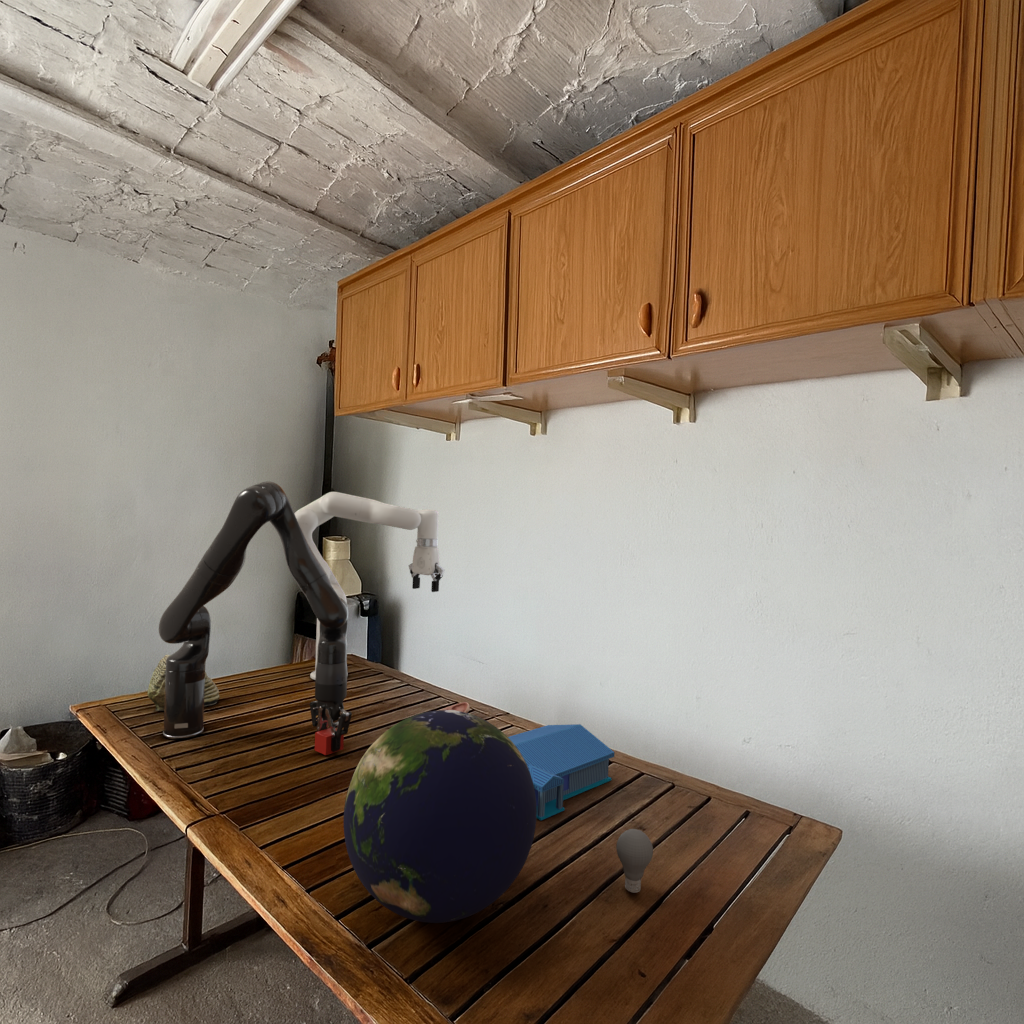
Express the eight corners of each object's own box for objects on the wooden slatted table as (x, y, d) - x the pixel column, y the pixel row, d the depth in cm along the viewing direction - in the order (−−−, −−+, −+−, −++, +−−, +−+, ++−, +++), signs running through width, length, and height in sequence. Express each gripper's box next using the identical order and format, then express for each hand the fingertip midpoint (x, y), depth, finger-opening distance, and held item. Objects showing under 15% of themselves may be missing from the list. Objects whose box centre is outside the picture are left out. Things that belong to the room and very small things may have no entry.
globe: (296, 934, 92) (304, 728, 91) (406, 836, 119) (412, 678, 119) (484, 1004, 80) (494, 770, 80) (557, 878, 108) (565, 703, 108)
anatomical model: (417, 708, 179) (430, 696, 190) (416, 722, 179) (430, 710, 191) (462, 714, 177) (473, 701, 188) (461, 728, 177) (472, 715, 188)
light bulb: (610, 879, 108) (613, 822, 108) (644, 879, 109) (647, 822, 109) (619, 902, 102) (622, 840, 102) (655, 901, 103) (658, 840, 103)
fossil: (144, 707, 182) (145, 655, 182) (212, 696, 194) (213, 647, 194) (151, 716, 175) (153, 662, 175) (221, 703, 188) (223, 653, 188)
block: (314, 750, 155) (315, 732, 155) (332, 744, 159) (332, 726, 159) (325, 755, 153) (326, 737, 152) (343, 749, 157) (344, 731, 157)
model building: (493, 841, 119) (496, 788, 119) (420, 792, 137) (422, 747, 137) (623, 784, 145) (625, 741, 145) (547, 750, 164) (548, 712, 163)
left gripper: (300, 676, 157) (298, 744, 157) (336, 688, 148) (334, 760, 149) (326, 670, 163) (324, 736, 163) (362, 681, 154) (359, 751, 155)
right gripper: (403, 541, 233) (401, 588, 234) (437, 545, 223) (435, 593, 223) (418, 541, 239) (416, 586, 240) (451, 544, 229) (449, 592, 229)
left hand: (328, 747), depth 156 cm, fingers closed on block, 4 cm apart
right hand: (425, 590), depth 231 cm, fingers open, 9 cm apart
